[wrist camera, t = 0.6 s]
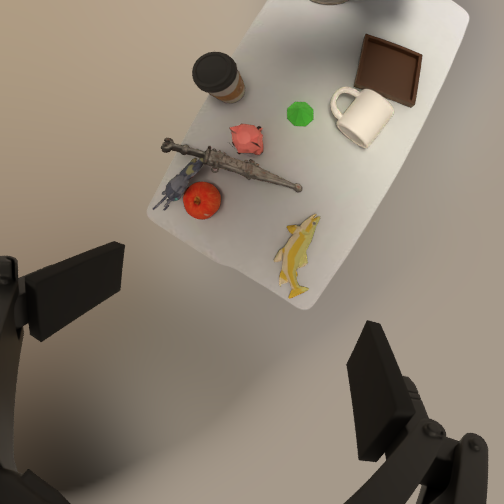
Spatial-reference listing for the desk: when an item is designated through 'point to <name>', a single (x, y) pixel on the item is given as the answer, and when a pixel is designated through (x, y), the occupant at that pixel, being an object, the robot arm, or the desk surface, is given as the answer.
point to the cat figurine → (247, 139)
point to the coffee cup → (219, 77)
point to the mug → (362, 115)
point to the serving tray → (389, 70)
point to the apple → (201, 200)
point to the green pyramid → (300, 114)
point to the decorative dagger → (229, 164)
